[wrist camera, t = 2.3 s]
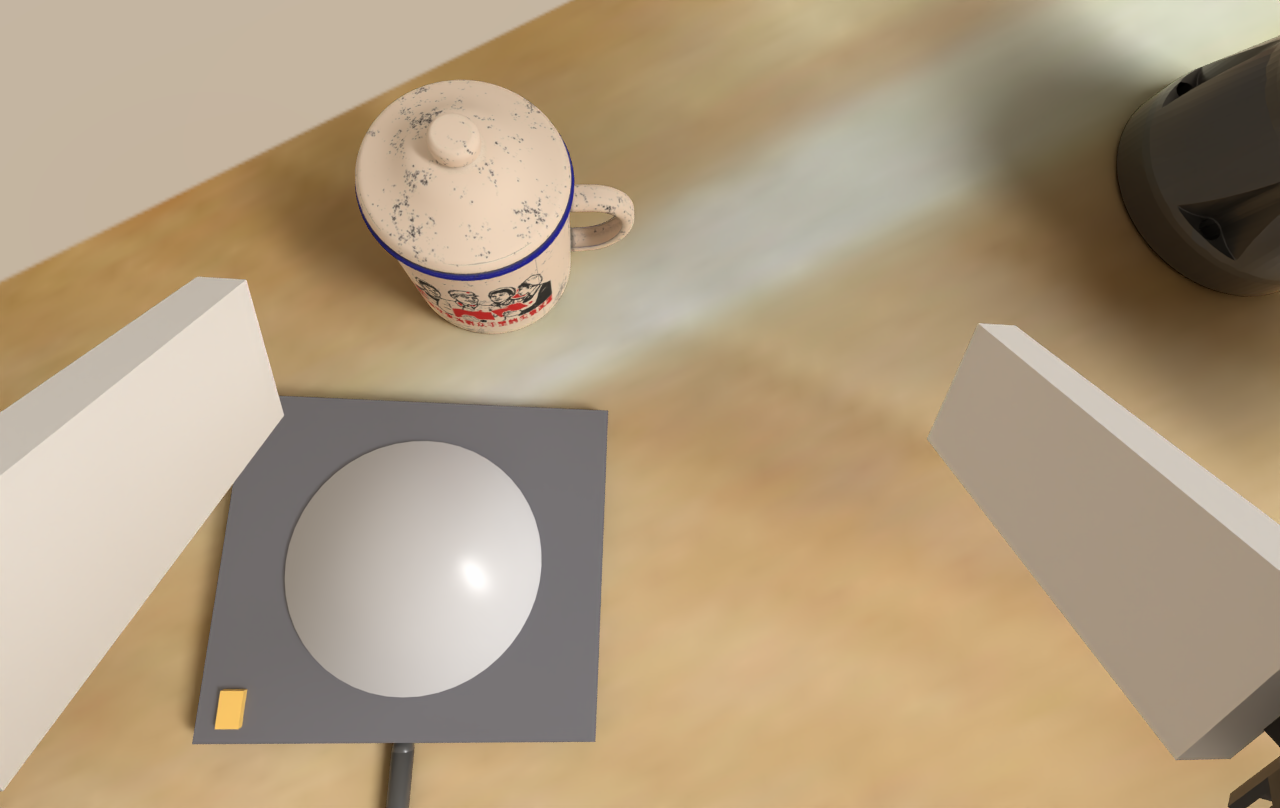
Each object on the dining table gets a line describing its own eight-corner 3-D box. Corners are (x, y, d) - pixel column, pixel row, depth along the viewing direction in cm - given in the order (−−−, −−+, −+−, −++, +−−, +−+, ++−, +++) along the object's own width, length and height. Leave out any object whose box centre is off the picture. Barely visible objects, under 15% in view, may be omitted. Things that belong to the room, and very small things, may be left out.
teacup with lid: (409, 342, 32) (318, 246, 21) (411, 188, 34) (327, 23, 23) (630, 336, 34) (656, 242, 22) (621, 188, 35) (641, 31, 24)
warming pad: (259, 399, 31) (244, 393, 30) (607, 414, 33) (608, 409, 31) (174, 958, 26) (150, 984, 25) (586, 943, 28) (586, 966, 26)
